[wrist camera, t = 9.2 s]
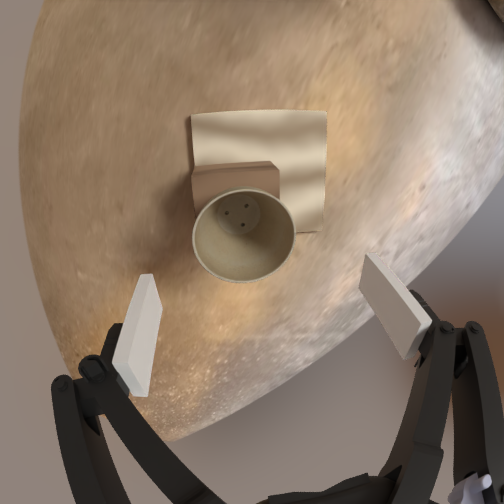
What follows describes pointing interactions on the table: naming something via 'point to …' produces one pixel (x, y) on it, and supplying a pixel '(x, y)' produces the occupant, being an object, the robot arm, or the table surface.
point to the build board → (272, 152)
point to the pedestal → (232, 180)
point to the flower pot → (243, 235)
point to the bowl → (498, 8)
